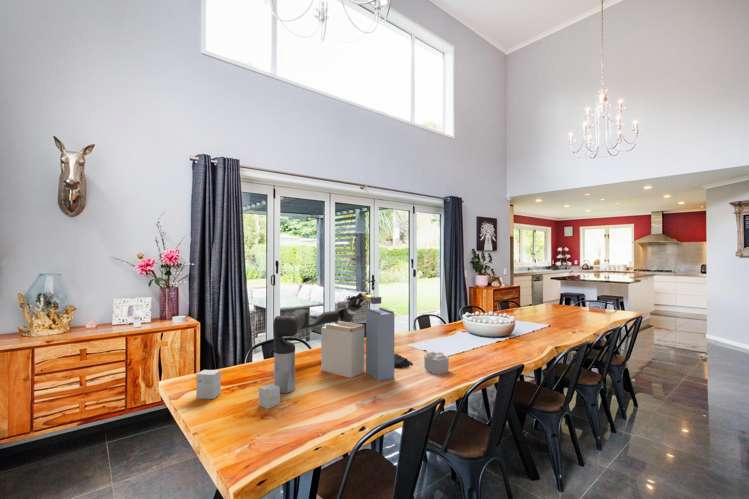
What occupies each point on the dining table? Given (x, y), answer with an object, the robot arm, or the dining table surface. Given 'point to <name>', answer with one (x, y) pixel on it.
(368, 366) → the post
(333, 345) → the upright beige carton
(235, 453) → the dining table surface
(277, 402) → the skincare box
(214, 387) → the small box
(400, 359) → the dark slate chunk
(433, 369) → the lumpy-topped squat cylinder
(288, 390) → the robot arm
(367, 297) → the pin
